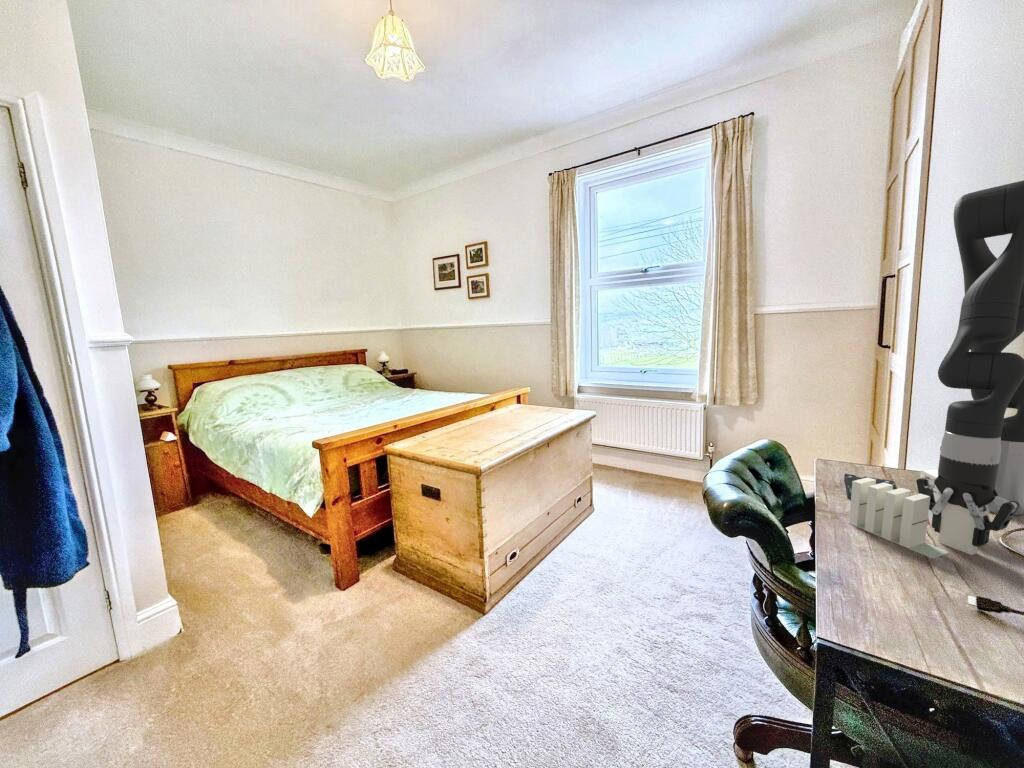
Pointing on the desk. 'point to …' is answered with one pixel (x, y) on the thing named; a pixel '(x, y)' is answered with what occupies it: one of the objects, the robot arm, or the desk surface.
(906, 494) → the domino
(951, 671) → the desk surface
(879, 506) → the domino
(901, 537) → the domino
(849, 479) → the disk drive
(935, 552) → the felt strip
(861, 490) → the domino
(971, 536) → the domino
